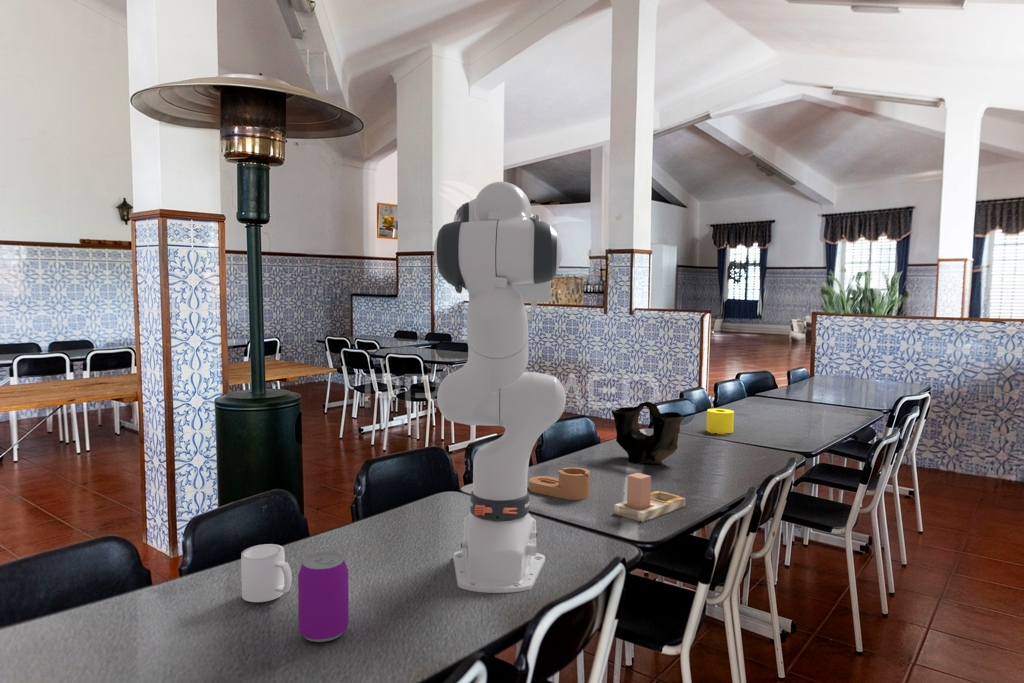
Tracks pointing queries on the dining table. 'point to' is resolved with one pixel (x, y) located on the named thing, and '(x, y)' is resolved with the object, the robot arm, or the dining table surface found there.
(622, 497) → the dining table surface
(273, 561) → the mug
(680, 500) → the peg board
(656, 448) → the pottery vessel
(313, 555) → the beverage can
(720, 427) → the tape roll
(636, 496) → the terracotta peg
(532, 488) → the bracket
